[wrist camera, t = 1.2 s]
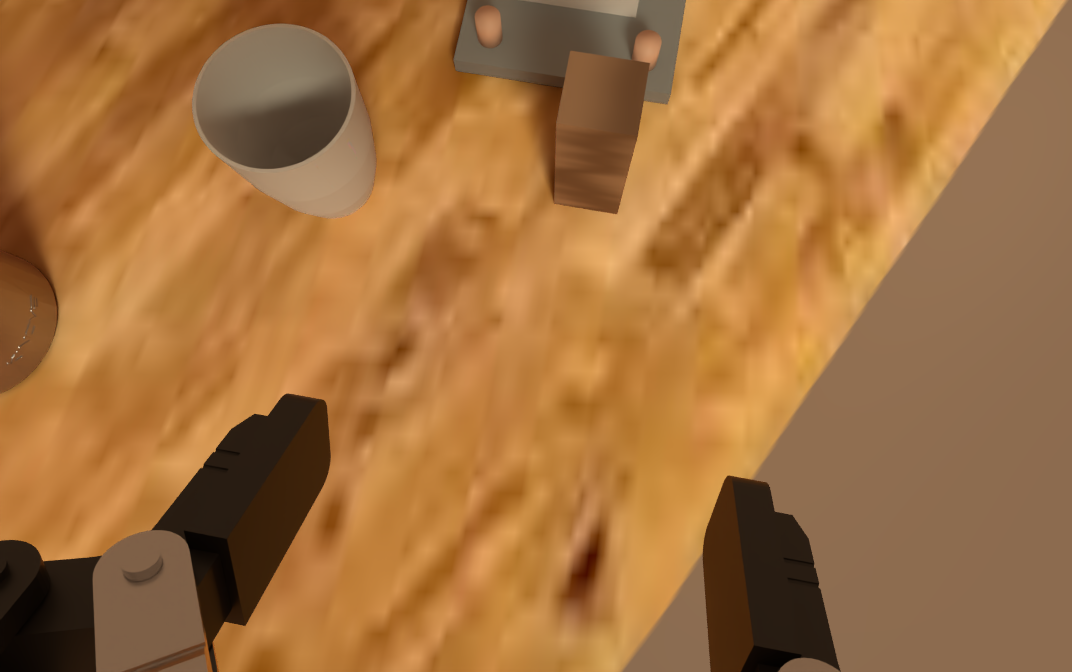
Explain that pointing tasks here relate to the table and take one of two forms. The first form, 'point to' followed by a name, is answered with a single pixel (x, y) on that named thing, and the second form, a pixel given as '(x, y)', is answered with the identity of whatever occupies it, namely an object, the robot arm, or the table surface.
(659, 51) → the housing plate
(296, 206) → the cup
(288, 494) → the robot arm
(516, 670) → the table surface
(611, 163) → the brown block
